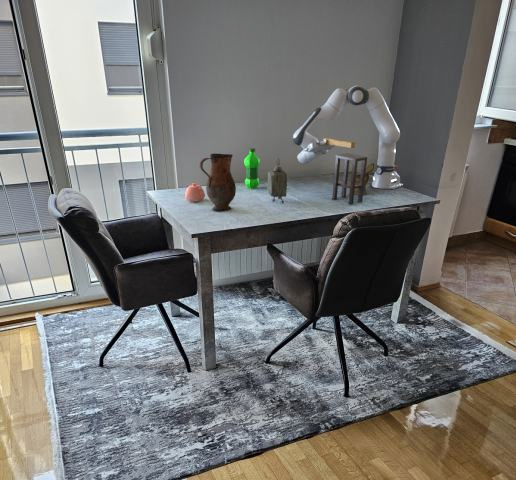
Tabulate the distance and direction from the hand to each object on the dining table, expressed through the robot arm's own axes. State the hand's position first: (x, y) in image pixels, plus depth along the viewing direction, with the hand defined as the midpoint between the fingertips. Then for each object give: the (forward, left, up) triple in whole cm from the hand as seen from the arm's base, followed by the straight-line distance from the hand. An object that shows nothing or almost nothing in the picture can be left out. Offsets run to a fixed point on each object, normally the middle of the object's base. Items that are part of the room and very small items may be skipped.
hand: (329, 140), depth 292 cm
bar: (0, +8, -2) cm, 8 cm away
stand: (+3, +23, -32) cm, 39 cm away
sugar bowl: (+79, -32, -32) cm, 91 cm away
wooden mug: (-19, +15, -32) cm, 40 cm away
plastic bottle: (+31, -39, -32) cm, 59 cm away
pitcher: (+79, -6, -32) cm, 86 cm away
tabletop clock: (+40, -1, -32) cm, 52 cm away
